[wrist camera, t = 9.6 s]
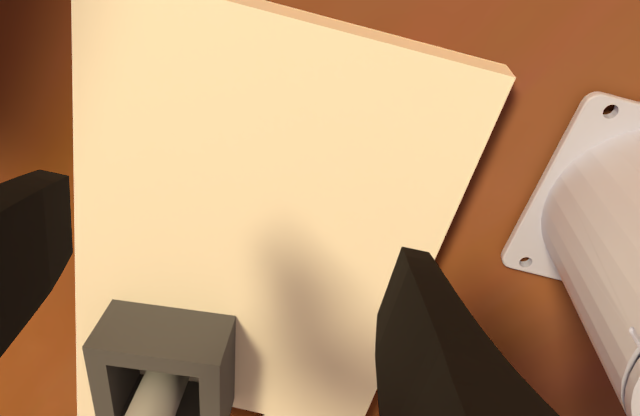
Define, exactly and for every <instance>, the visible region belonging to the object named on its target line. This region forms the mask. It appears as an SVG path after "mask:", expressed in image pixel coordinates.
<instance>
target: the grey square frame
mask: <svg viewBox="0 0 640 416" xmlns="http://www.w3.org/2000/svg"><path fill="white" fill-rule="evenodd" d="M235 338H236V316H233V315H226V314H218V313H211V312H204V311H196V310H189V309H181V308H174V307H166V306H159V305H152V304H144V303H137V302H129V301H122V300H114V299H112V301H111V302H110V304H109V305H108V307H107V308H106V310H105V312H104V313H103V315H102V316H101V318H100V319H99V321H98V323H97V324H96V326H95V327H94V329H93V330H92V332H91V334H90V335H89V337H88V338H87V340H86V341H85V343H84V345H83V346H82V350H83V355H84V360H85V365H86V371H87V376H88V381H89V386H90V391H91V396H92V401H93V406H94V411H95V416H125V414H126V412H127V410H128V408H129V405H130V403H131V401H132V399H133V397H134V395H135V393H136V391H137V388H138V386H139V384H140V382H141V380H142V378H143V376H144V374H140V370H145V371H153V372H160V373H167V374H175V375H182V376H189V377H196V378H199V382H195V381H188V383H187V385H186V388H185V391H184V393H183V396H182V399H181V401H180V404H179V407H178V409H177V412H176V415H175V416H230V413H231V409H232V406H233V402H234V393H235Z"/></svg>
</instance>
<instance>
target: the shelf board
mask: <svg viewBox="0 0 640 416" xmlns="http://www.w3.org/2000/svg"><path fill="white" fill-rule="evenodd" d="M71 17H72V87H73V157H74V227H75V297H76V367H77V416H95V411H94V406H93V401H92V396H91V391H90V386H89V381H88V376H87V371H86V365H85V360H84V355H83V350H82V346H83V345H84V343H85V341H86V340H87V338H88V337H89V335H90V334H91V332H92V330H93V329H94V327H95V326H96V324H97V323H98V321H99V319H100V318H101V316H102V315H103V313H104V312H105V310H106V308H107V307H108V305H109V304H110V302H111V301H112V299H114V300H122V301H129V302H137V303H144V304H152V305H159V306H166V307H174V308H181V309H189V310H196V311H204V312H211V313H218V314H226V315H233V316H236V338H235V393H234V402H233V406H232V407H235V408H239V409H244V410H248V411H252V412H257V413H261V414H263V416H365V415H366V413H367V410H368V408H369V406H370V404H371V401H372V399H373V397H374V395H375V392H376V390H377V379H376V365H375V341H376V323H377V314H378V311H379V308H380V305H381V303H382V300H383V297H384V294H385V291H386V289H387V286H388V283H389V280H390V278H391V275H392V272H393V269H394V267H395V264H396V261H397V258H398V256H399V253H400V250H401V247H407V248H412V249H416V250H421V251H426V252H429V253H430V254H431V256H432V257H433V258H434V260H435V258H436V256H437V253H438V251H439V249H440V247H441V244H442V242H443V240H444V238H445V235H446V233H447V231H448V229H449V226H450V224H451V222H452V220H453V217H454V215H455V213H456V211H457V209H458V206H459V204H460V202H461V200H462V197H463V195H464V193H465V191H466V188H467V186H468V184H469V182H470V179H471V177H472V175H473V173H474V170H475V168H476V166H477V164H478V161H479V159H480V157H481V155H482V152H483V150H484V148H485V146H486V143H487V141H488V139H489V137H490V135H491V132H492V130H493V128H494V126H495V123H496V121H497V119H498V117H499V114H500V112H501V110H502V108H503V105H504V103H505V101H506V99H507V96H508V94H509V92H510V90H511V87H512V85H513V83H514V81H515V78H516V77H515V76H514V75H513V73H512V72H511V71H510V69H509V68H508V66H507V65H505V64H501V63H497V62H494V61H490V60H486V59H483V58H479V57H475V56H471V55H468V54H464V53H460V52H456V51H453V50H449V49H445V48H441V47H438V46H434V45H430V44H426V43H423V42H419V41H415V40H411V39H408V38H404V37H400V36H397V35H393V34H389V33H385V32H382V31H378V30H374V29H370V28H367V27H363V26H359V25H355V24H352V23H348V22H344V21H340V20H337V19H333V18H329V17H326V16H322V15H318V14H314V13H311V12H307V11H303V10H299V9H296V8H292V7H288V6H284V5H281V4H277V3H273V2H269V1H266V0H71ZM140 374H144V376H143V378H142V380H141V382H140V384H139V386H138V388H137V391H136V393H135V395H134V397H133V399H132V401H131V403H130V405H129V408H128V410H127V412H126V414H125V416H175V415H176V412H177V409H178V407H179V404H180V401H181V399H182V396H183V393H184V391H185V388H186V385H187V383H188V381H195V382H199V378H196V377H189V376H182V375H175V374H167V373H160V372H153V371H145V370H140Z"/></svg>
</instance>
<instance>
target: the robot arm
mask: <svg viewBox="0 0 640 416" xmlns="http://www.w3.org/2000/svg"><path fill="white" fill-rule="evenodd" d="M609 105H614V110H613V111H612V112H611V113H609V114H607V115H603V110H604V109H605V108H606V107H607V106H609ZM72 253H73V248H72V229H71V209H70V190H69V176H67V175H62V174H58V173H53V172H48V171H43V170H37V171H34V172H31V173H28V174H25V175H22V176H19V177H16V178H14V179H11V180H8V181H6V182H3V183H1V184H0V357H1V356H2V355H3V353H4V352H5V351H6V350H7V348H8V347H9V346H10V344H11V343H12V342H13V341H14V339H15V338H16V337H17V335H18V334H19V333H20V332H21V330H22V329H23V328H24V326H25V325H26V324H27V323H28V321H29V320H30V319H31V317H32V316H33V315H34V313H35V312H36V311H37V309H38V308H39V307H40V305H41V304H42V303H43V302H44V300H45V299H46V298H47V296H48V295H49V293H50V292H51V291H52V289H53V287H54V285H55V284H56V282H57V280H58V279H59V277H60V275H61V274H62V272H63V270H64V268H65V266H66V264H67V262H68V261H69V259H70V257H71V255H72ZM525 257H529V259H528V260H527V261H524V262H522V261H520V260H521V259H522V258H525ZM501 259H502V262H503V264H504V265H505V266H507V267H509V268H513V269H517V270H521V271H525V272H529V273H533V274H537V275H541V276H545V277H549V278H553V279H557V280H561V281H562V282H563V284H564V286H565V288H566V290H567V292H568V294H569V296H570V298H571V301H572V303H573V305H574V307H575V309H576V311H577V313H578V315H579V317H580V319H581V321H582V324H583V326H584V328H585V330H586V332H587V334H588V336H589V338H590V340H591V342H592V344H593V347H594V349H595V351H596V353H597V355H598V357H599V359H600V361H601V363H602V365H603V367H604V370H605V372H606V374H607V376H608V378H609V380H610V382H611V384H612V386H613V388H614V390H615V393H616V395H617V397H618V399H619V401H620V403H621V405H622V407H623V409H624V411H625V413H626V416H640V102H637V101H634V100H630V99H626V98H622V97H619V96H615V95H611V94H607V93H604V92H596V91H595V92H592V93H589V94H588V95H586V96H585V97H584V98H583V99H582V101H581V102H580V104H579V106H578V108H577V110H576V112H575V114H574V116H573V117H572V119H571V121H570V123H569V125H568V127H567V129H566V131H565V133H564V135H563V136H562V138H561V140H560V142H559V144H558V146H557V148H556V150H555V152H554V154H553V155H552V157H551V159H550V161H549V163H548V165H547V167H546V169H545V171H544V173H543V174H542V176H541V178H540V180H539V182H538V184H537V186H536V188H535V190H534V192H533V193H532V195H531V197H530V199H529V201H528V203H527V205H526V207H525V209H524V211H523V212H522V214H521V216H520V218H519V220H518V222H517V224H516V226H515V228H514V230H513V231H512V233H511V235H510V237H509V239H508V241H507V243H506V245H505V247H504V248H503V250H502V253H501ZM375 365H376V379H377V392H378V404H379V416H559V415H558V414H557V413H556V412H555V411H554V410H553V409H552V408H551V407H550V406H549V405H548V404H547V403H546V402H545V401H544V400H543V399H542V398H541V397H540V396H539V395H538V394H537V393H536V392H535V391H534V390H533V388H532V387H531V386H530V385H529V384H528V383H527V382H526V381H525V380H524V379H523V378H522V377H521V376H520V375H519V373H518V372H517V371H516V370H515V369H514V368H513V367H512V366H511V364H510V363H509V362H508V361H507V360H506V359H505V357H504V356H503V355H502V354H501V352H500V351H499V350H498V349H497V347H496V346H495V345H494V344H493V342H492V341H491V340H490V339H489V337H488V336H487V335H486V334H485V332H484V331H483V330H482V328H481V327H480V326H479V324H478V323H477V322H476V320H475V319H474V318H473V316H472V315H471V313H470V312H469V311H468V309H467V308H466V306H465V305H464V303H463V302H462V301H461V299H460V298H459V296H458V295H457V293H456V292H455V290H454V289H453V287H452V286H451V284H450V283H449V281H448V280H447V278H446V277H445V275H444V274H443V272H442V271H441V269H440V267H439V266H438V264H437V263H436V261H435V260H434V258H433V257H432V256H431V254H430V253H429V252H426V251H421V250H416V249H412V248H407V247H401V250H400V253H399V256H398V258H397V261H396V264H395V267H394V269H393V272H392V275H391V278H390V280H389V283H388V286H387V289H386V291H385V294H384V297H383V300H382V303H381V305H380V308H379V311H378V314H377V323H376V341H375Z"/></svg>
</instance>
